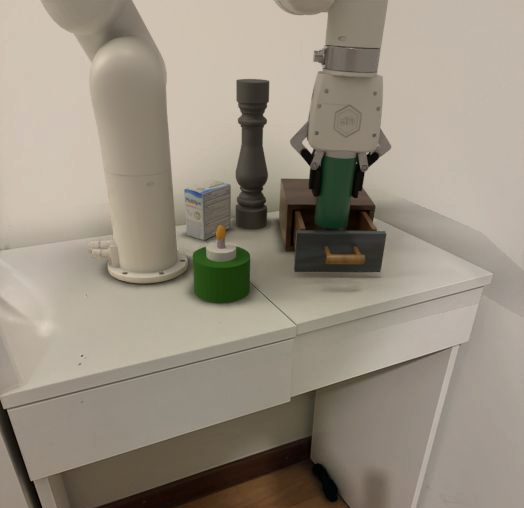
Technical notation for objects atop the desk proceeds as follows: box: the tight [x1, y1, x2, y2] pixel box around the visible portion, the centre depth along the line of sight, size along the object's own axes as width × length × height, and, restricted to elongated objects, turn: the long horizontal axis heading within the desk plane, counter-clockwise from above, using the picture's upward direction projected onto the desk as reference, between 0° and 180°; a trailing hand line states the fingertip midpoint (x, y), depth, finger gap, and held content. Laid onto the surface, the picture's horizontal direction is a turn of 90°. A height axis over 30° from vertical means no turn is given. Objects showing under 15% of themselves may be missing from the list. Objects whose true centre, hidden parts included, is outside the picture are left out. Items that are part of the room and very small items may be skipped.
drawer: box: [292, 209, 388, 273], centre depth 83 cm, size 20×14×6 cm
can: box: [314, 151, 357, 231], centre depth 80 cm, size 5×5×13 cm
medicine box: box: [183, 179, 232, 241], centre depth 94 cm, size 8×4×9 cm, turn 144°
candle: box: [191, 225, 251, 304], centre depth 74 cm, size 8×8×10 cm
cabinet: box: [278, 178, 376, 252], centre depth 95 cm, size 16×15×8 cm
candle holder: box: [235, 78, 270, 230], centre depth 95 cm, size 6×6×25 cm
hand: (334, 193), depth 80 cm, fingers closed on can, 5 cm apart
